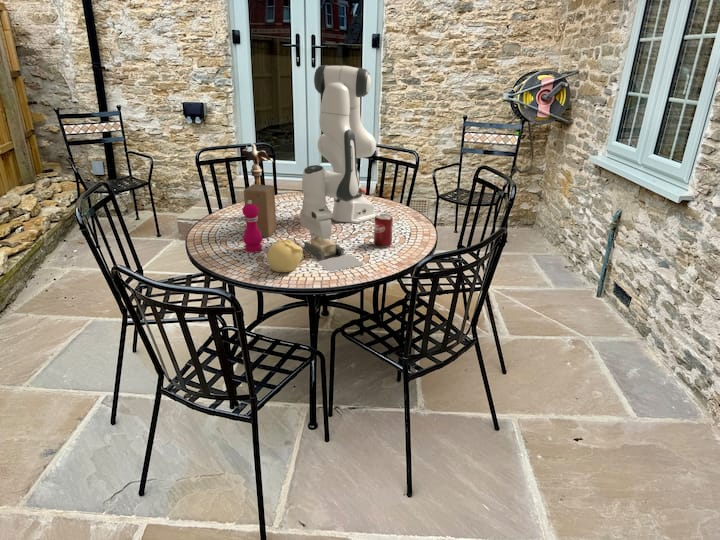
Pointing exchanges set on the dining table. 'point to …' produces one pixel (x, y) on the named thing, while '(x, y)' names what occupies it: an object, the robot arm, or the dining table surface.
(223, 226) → the dining table surface
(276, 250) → the sculpture
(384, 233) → the soda can
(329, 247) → the birch block
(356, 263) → the slate mat
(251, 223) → the pepper mill
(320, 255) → the metal chute
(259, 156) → the bird statue
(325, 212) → the robot arm
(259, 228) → the wooden block
